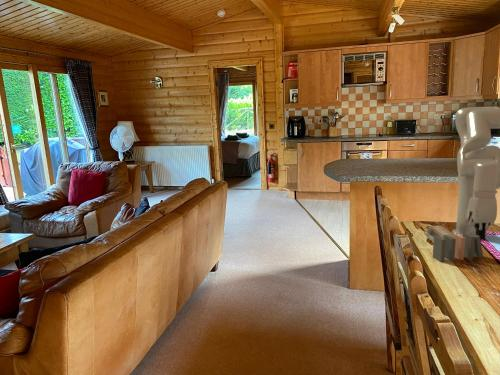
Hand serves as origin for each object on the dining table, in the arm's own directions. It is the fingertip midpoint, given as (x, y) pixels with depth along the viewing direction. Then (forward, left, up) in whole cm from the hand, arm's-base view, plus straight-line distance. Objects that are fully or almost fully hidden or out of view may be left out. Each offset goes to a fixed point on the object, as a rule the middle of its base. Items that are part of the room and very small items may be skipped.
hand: (480, 238), depth 152 cm
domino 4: (+5, 0, -7) cm, 9 cm away
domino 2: (+13, 0, -7) cm, 15 cm away
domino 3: (+9, 0, -7) cm, 12 cm away
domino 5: (+1, 0, -7) cm, 7 cm away
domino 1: (+17, 0, -7) cm, 19 cm away
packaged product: (+2, -20, -8) cm, 21 cm away
